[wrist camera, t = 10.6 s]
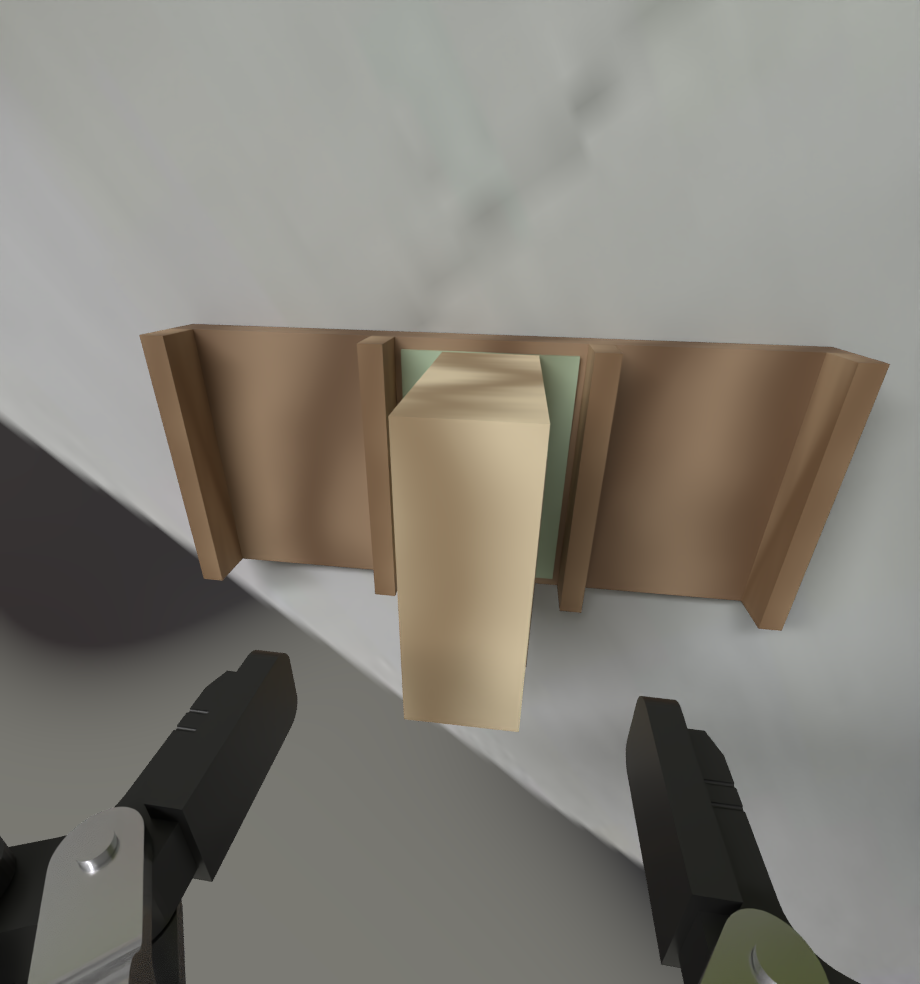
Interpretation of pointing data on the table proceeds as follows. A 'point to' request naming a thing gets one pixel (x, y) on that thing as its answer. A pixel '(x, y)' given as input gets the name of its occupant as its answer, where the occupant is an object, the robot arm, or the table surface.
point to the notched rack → (571, 453)
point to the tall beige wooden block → (468, 534)
